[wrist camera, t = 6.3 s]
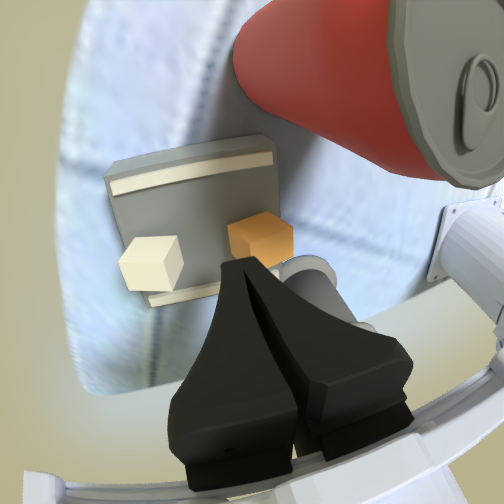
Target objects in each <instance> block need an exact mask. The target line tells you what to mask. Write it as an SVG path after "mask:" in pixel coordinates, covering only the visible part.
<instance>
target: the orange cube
mask: <svg viewBox="0 0 504 504" xmlns="http://www.w3.org/2000/svg"><path fill="white" fill-rule="evenodd" d="M227 227H228V234H229V241H230V248H231V254H232V255H233V256H234V257H235V258H236V259H241V258H245V257H250V256H255V257H256V258H257V259H258V260H259V261H260V262H261V263H262V264H263V265H264V266H265V267H266V268H269V267H271V266H274V265H276V264H278V263H280V262H283V261H285V260H287V259H289V258H291V257H293V227H292V226H291V225H289V224H288V223H286V222H284V221H283V220H281V219H280V218H278V217H276V216H275V215H273V214H272V213H270V212H268V211H266V212H263V213H260V214H257V215H254V216H252V217H249V218H246V219H243V220H240V221H238V222H235V223H232V224H229V225H227Z"/></svg>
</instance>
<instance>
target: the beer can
mask: <svg viewBox="0 0 504 504" xmlns="http://www.w3.org/2000/svg"><path fill="white" fill-rule="evenodd" d="M233 66H234V70H235V74H236V77H237V81H238V83H239V84H240V86H241V87H242V89H243V90H244V92H245V94H246V95H247V97H248V98H249V99H250V100H251V101H253V102H254V103H255V104H256V105H258V106H259V107H260V108H261V109H262V110H264V111H266V112H268V113H271V114H273V115H276V116H278V117H280V118H283V119H285V120H287V121H289V122H292V123H294V124H296V125H298V126H301V127H303V128H305V129H307V130H309V131H312V132H314V133H316V134H318V135H320V136H322V137H324V138H326V139H328V140H330V141H332V142H334V143H336V144H338V145H340V146H342V147H344V148H346V149H348V150H350V151H352V152H354V153H355V154H357V155H359V156H361V157H363V158H365V159H367V160H369V161H370V162H372V163H374V164H376V165H378V166H379V167H381V168H383V169H385V170H387V171H388V172H390V173H394V174H398V175H402V176H407V177H412V178H420V179H428V180H437V181H447V182H449V183H450V184H451V185H453V186H454V187H457V188H464V189H470V190H479V189H482V188H484V187H487V186H490V185H492V184H495V183H497V182H498V181H500V180H501V179H502V178H503V177H504V0H273V1H271V2H270V3H268V4H267V5H266V6H264V7H263V8H262V9H260V10H259V11H257V12H256V13H255V14H254V15H253V16H252V17H251V18H250V19H249V20H248V21H247V22H246V23H245V24H244V25H243V26H242V28H241V30H240V32H239V34H238V36H237V38H236V40H235V42H234V51H233Z"/></svg>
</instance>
